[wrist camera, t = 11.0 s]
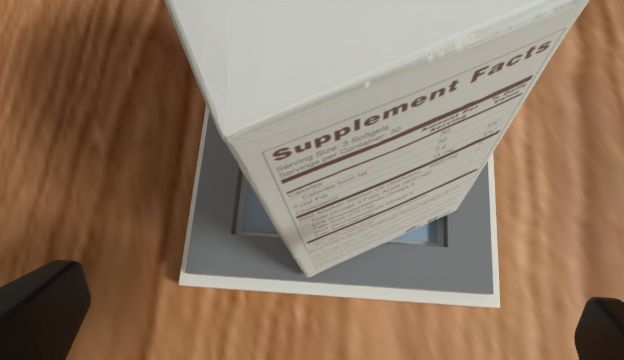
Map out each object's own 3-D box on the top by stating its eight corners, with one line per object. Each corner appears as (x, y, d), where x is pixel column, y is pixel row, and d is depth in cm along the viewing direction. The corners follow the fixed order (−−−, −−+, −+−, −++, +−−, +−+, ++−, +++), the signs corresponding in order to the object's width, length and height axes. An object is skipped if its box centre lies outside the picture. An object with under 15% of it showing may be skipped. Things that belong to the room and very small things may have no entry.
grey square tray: (492, 308, 20) (506, 307, 18) (186, 286, 21) (171, 283, 19) (481, 35, 24) (491, 13, 22) (224, 30, 25) (215, 8, 23)
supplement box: (246, 143, 22) (115, -119, 10) (386, 86, 22) (412, -227, 11) (303, 285, 19) (208, 143, 7) (463, 216, 19) (617, -24, 8)
